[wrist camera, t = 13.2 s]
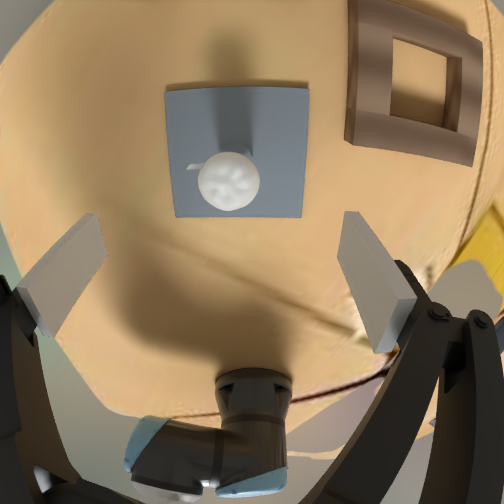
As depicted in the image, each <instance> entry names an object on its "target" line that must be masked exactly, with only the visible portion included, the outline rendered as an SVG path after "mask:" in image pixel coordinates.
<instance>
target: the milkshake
mask: <svg viewBox="0 0 504 504" xmlns="http://www.w3.org/2000/svg"><path fill="white" fill-rule="evenodd" d="M200 168H201V170H200V172H199V176H198V186H199V189H200V192H201V194H202V196H203V197H204V199H205V200H206V201H207V202H209V203H210V204H211V205H213V206H214V207H216V208H218V209H220V210H224V211H232V210H236V209H239V208H242V207H245V206H246V205H248V204H249V203H250V202H251V201H252V200H253V199H254V197H255V196H256V194H257V192H258V189H259V184H260V178H259V173H258V170H257V168H256V166H255V163H254V161H253V157H252V154H251V151H250V148H249V147H248V146H246V145H245V144H243V143H242V142H230V143H228V144H227V145H226V146H224V147H223V148H222V149H220V150H219V151H218V152H217V153H216V154H215V155H213V156H212V157H210V158H209V159H208V160H207V161H206V162H205V163H199V164H189V165H188V167H187V168H186V170H189V169H200Z"/></svg>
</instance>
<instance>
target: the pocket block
mask: <svg viewBox="0 0 504 504" xmlns="http://www.w3.org/2000/svg"><path fill="white" fill-rule="evenodd" d="M348 25H349V56H348V88H347V106H346V121H345V133H344V140H346V141H347V142H349V143H350V144H352V145H354V146H363V147H371V148H378V149H385V150H391V151H398V152H404V153H409V154H415V155H420V156H425V157H430V158H435V159H440V160H444V161H449V162H453V163H457V164H461V165H465V166H469V167H472V166H473V161H474V155H475V150H476V144H477V138H478V131H479V123H480V114H481V103H482V87H483V46H482V42H481V41H480V40H478V39H476V38H474V37H473V36H471V35H469V34H467V33H465V32H463V31H461V30H460V29H458V28H456V27H454V26H452V25H449V24H447V23H445V22H443V21H441V20H439V19H436V18H434V17H432V16H430V15H427V14H425V13H422V12H420V11H417V10H414V9H412V8H409V7H406V6H403V5H401V4H398V3H395V2H391V1H388V0H348ZM393 38H394V39H397V40H401V41H404V42H407V43H410V44H413V45H416V46H419V47H422V48H425V49H427V50H430V51H432V52H435V53H438V54H440V55H442V56H445V57H447V82H446V98H445V110H444V119H443V127H440V126H436V125H433V124H429V123H425V122H421V121H417V120H413V119H409V118H404V117H400V116H395V115H390V103H391V89H392V65H393Z"/></svg>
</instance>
